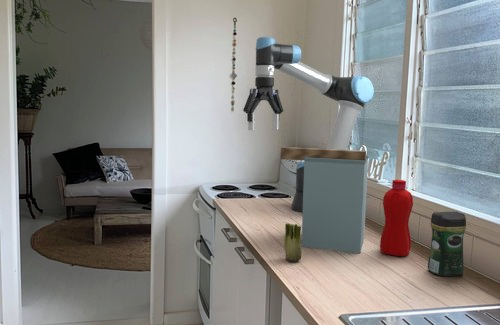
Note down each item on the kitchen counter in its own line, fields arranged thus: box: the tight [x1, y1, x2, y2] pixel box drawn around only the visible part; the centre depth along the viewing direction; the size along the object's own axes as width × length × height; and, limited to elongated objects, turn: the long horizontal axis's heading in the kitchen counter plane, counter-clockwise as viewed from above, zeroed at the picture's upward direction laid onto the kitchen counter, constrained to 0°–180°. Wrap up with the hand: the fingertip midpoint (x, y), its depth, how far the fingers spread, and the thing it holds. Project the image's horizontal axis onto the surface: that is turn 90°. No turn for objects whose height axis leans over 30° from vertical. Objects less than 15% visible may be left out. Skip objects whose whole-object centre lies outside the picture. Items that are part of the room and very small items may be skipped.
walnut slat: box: [280, 146, 367, 163], centre depth 161 cm, size 29×4×4 cm, turn 72°
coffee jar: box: [427, 211, 467, 277], centre depth 139 cm, size 10×8×19 cm
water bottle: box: [379, 179, 414, 257], centre depth 157 cm, size 9×11×25 cm
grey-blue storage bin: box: [301, 155, 369, 254], centre depth 166 cm, size 18×20×31 cm
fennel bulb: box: [284, 222, 303, 263], centre depth 147 cm, size 6×5×12 cm
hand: (263, 129), depth 190 cm, fingers open, 13 cm apart
